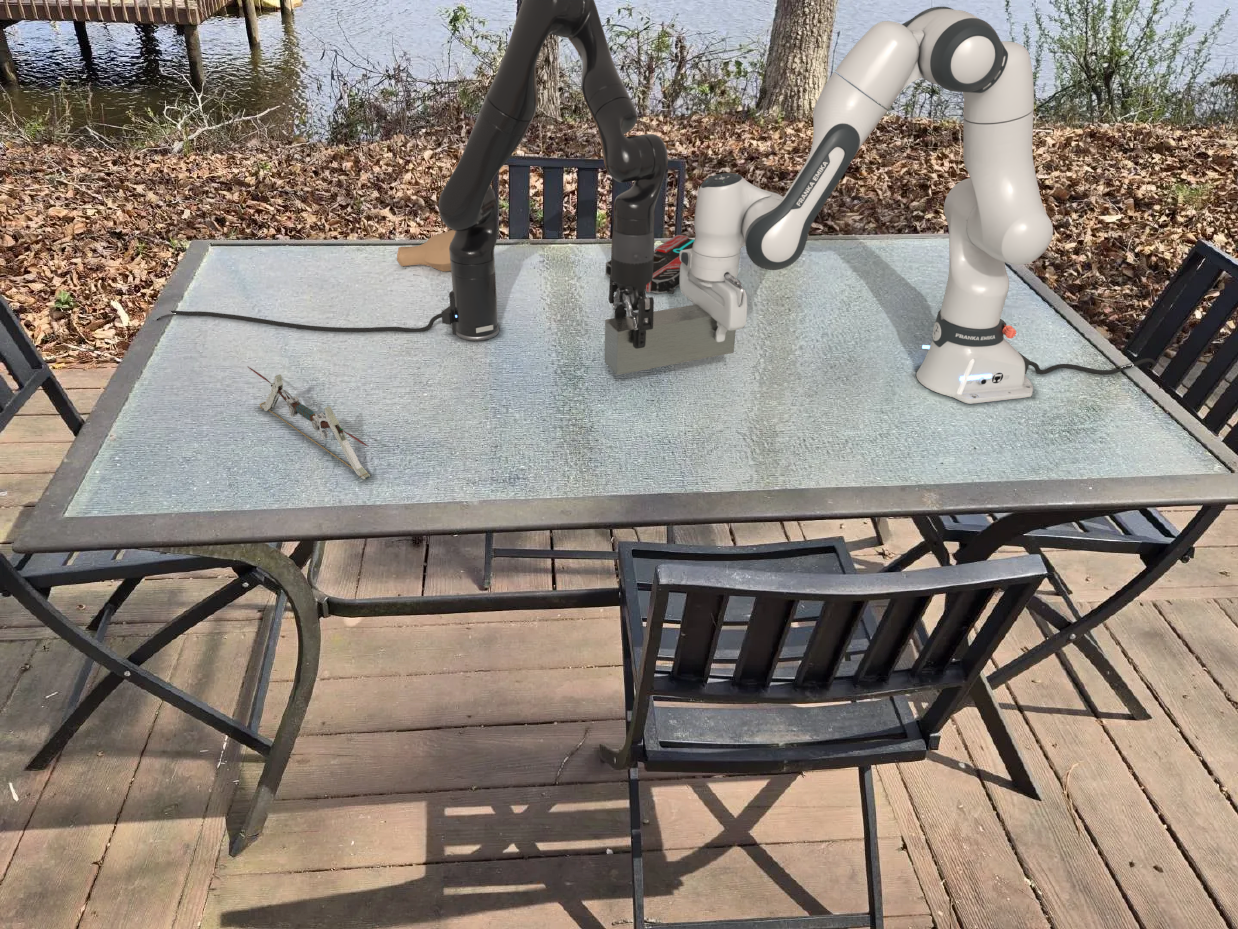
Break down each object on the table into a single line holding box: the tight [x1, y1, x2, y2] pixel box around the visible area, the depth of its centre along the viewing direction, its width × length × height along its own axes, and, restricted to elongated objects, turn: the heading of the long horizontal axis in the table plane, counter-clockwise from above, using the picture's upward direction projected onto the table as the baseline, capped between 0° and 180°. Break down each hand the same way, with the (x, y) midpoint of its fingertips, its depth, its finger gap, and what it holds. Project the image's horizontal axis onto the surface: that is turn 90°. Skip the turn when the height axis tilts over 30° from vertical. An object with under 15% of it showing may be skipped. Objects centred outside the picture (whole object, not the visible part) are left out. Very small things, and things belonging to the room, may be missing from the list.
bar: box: [604, 304, 737, 376], centre depth 167 cm, size 25×6×9 cm, turn 114°
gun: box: [605, 234, 695, 295], centre depth 225 cm, size 4×31×19 cm
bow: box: [247, 365, 371, 480], centre depth 151 cm, size 39×2×10 cm, turn 47°
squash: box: [396, 229, 456, 273], centre depth 222 cm, size 11×20×9 cm, turn 90°
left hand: (629, 337), depth 163 cm, fingers open, 8 cm apart
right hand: (709, 332), depth 170 cm, fingers closed on bar, 6 cm apart
